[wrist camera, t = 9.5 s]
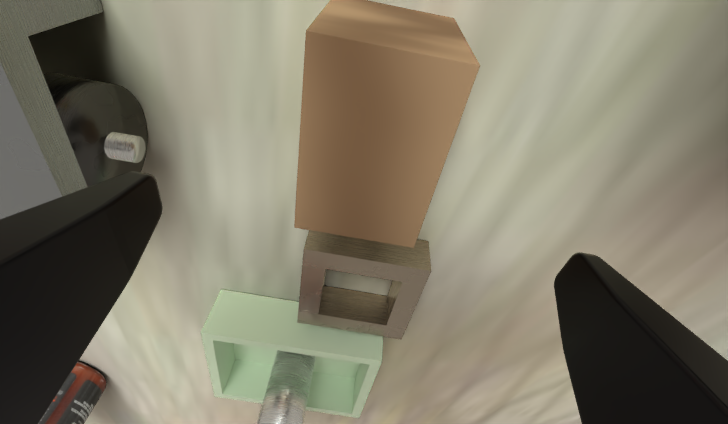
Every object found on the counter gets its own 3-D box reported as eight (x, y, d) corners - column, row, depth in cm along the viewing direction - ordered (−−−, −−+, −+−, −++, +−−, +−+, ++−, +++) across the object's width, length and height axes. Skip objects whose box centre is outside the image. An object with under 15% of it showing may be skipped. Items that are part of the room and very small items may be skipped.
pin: (327, 334, 24) (300, 489, 17) (322, 361, 26) (296, 507, 20) (272, 325, 24) (225, 478, 17) (272, 353, 26) (230, 498, 19)
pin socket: (428, 241, 18) (431, 271, 17) (401, 309, 22) (401, 339, 21) (311, 220, 18) (304, 249, 17) (304, 293, 22) (297, 322, 20)
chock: (453, 17, 12) (480, 65, 8) (409, 167, 16) (413, 248, 12) (335, -7, 12) (306, 31, 8) (319, 150, 16) (294, 227, 12)
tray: (383, 315, 23) (382, 361, 20) (362, 376, 28) (359, 418, 26) (221, 289, 22) (200, 332, 20) (229, 356, 27) (214, 396, 25)
